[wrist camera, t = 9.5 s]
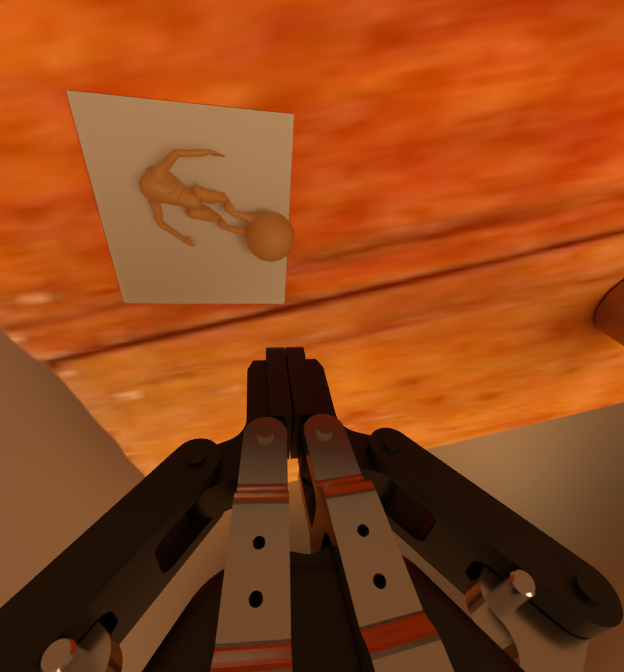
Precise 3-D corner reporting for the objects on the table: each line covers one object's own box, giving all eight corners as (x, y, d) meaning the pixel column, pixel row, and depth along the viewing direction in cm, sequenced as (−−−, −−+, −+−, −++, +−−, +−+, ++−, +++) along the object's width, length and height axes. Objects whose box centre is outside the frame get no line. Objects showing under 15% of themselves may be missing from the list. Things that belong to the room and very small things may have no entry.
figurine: (321, 200, 26) (187, 106, 25) (299, 228, 22) (133, 114, 20) (278, 275, 32) (165, 201, 30) (253, 309, 27) (119, 225, 25)
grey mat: (292, 113, 25) (294, 114, 24) (283, 299, 34) (284, 303, 33) (71, 90, 22) (65, 90, 22) (126, 299, 31) (124, 303, 31)
